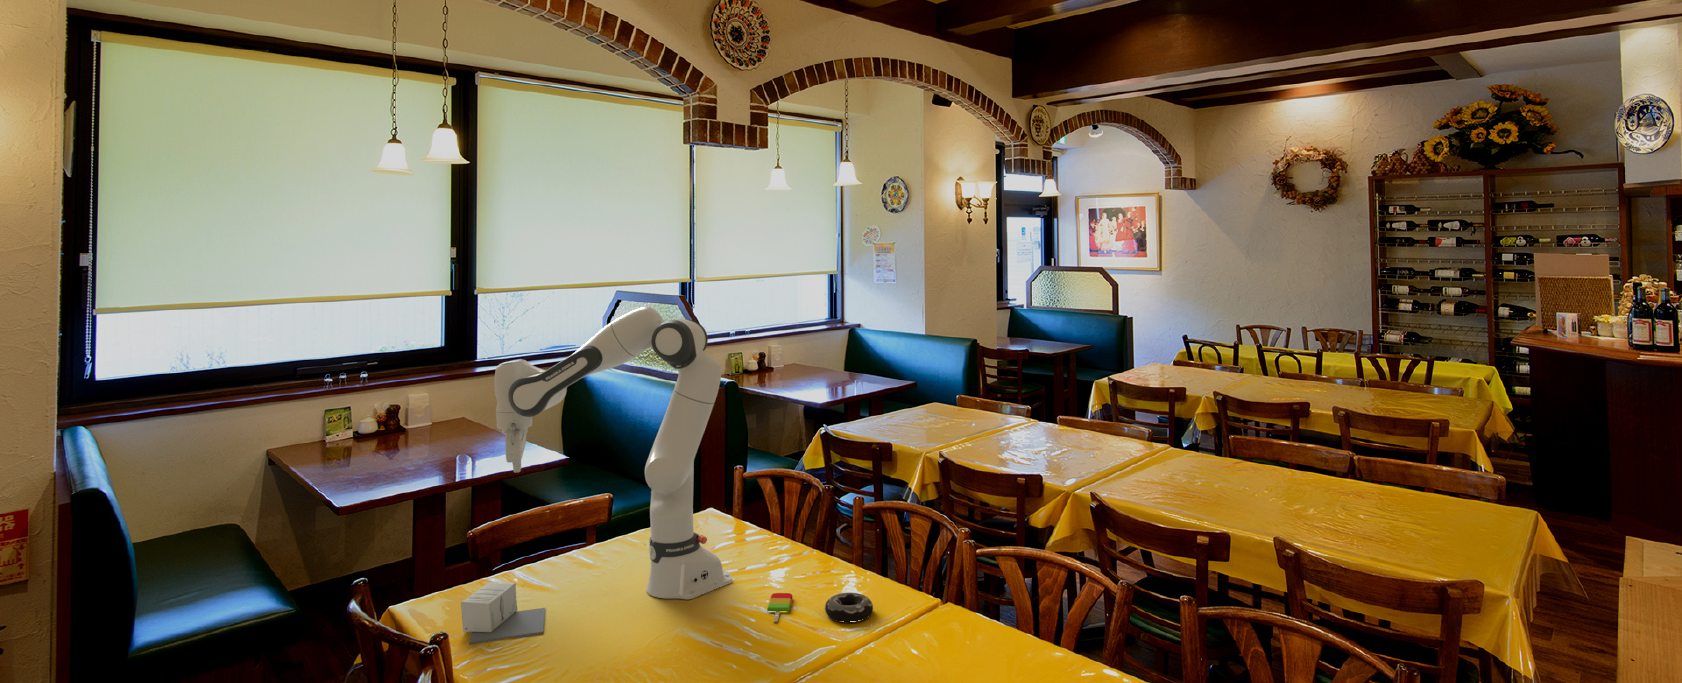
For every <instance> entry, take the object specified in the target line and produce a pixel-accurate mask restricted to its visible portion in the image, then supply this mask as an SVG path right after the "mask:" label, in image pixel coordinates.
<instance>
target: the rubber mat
mask: <svg viewBox="0 0 1682 683" xmlns="http://www.w3.org/2000/svg"><path fill="white" fill-rule="evenodd" d="M545 617H546V607H541V608H533V609H532V608H531V609H525V610H517V611H516V612H514V613H513V614H512V615H511V616H510V617H509V618H507V619H506V620H505V621H504V622H503V623H501V624H500V625H499V626H498V627H497V628H495V629H494V630H493V631H492V632H471V633H470V637H469V640H468V645H472V644H479V643H487V642H494V641H500V640H502V641H503V640H507V639H514V638H522V637H530V636H536V635H542V634H544V631H545V630H544V628H545Z"/></svg>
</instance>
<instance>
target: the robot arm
mask: <svg viewBox="0 0 1682 683" xmlns="http://www.w3.org/2000/svg"><path fill="white" fill-rule="evenodd" d="M708 339H709V338H708V333H707V331H706V328H705V327H704V326H702V325H701V323H699V322H698V321H696V320H692V319H686V318H677V319H676V318H675V319H669V320H665V319H664V318H663V317H662V316H661V314H660V313H659V312H658V311H657V310H656V309H654V308H653V307H651V306H648V305H647V306H645V305H644V306H641V307H639V308H635V309H633V310H631V311H628V312H627V313H625V314H623V315H621V316H619V317H617V318H615V319H614V320H612V321H611V322H609V323H607V325H605V326H604V327H603V328H601V329H600V330H599V331H598V332H596V333H595V334H594V335H593V336H592V337H591V338H589V339H588V340H587V341H586V342H585V343H584V344H582V345H581V346H580V347H578V349H577V350H576V351H575V352H573V353H572V354H570V355H568V357H567V356H566V358H565V359H563V360H561V361H559V362H557V363H556V364H555V365H552V366H551V367H550V368H548V369H546V370H545V369H543V368H540V367H537V366H535V365H533V364H531V363H530V362H528V361H527V360H526V359H523V358H519V359H513V360H509V361H505V362H501V363H499V364H498V365H497V366H496V367H495V371H494V372H495V373H494V396H495V399H496V407H495V417H496V429H498V430H501V431H502V435H504V436H505V438H504V442H505V460H506V463H508V464H509V463H512V469H513V473H520V472H521V471H522V470H521V469H522V460H523V459H522V458H523V456H524V451H525V447H526V445H527V433H528V432H529V430H528V428H530V427H532V426H533V417H535V416H537V415H539V414H541V413H542V412H545V411H546V410H548V409H550V408H552V407H555V406H556V405H559V404H560V403H561V402H562V401H563V400H564V399H566V398H565V397H566V395H567V392H568V387H569V386H571V385H573V384H575V383H576V382H578V381H579V380H581V379H583V378H585V377H587V376H590V375H593V374H596V373H600V372H603V371H607V370H610V369H613V368H616V367H618V366H621V365H623V364H626V363H628V362H629V361H631V360H633V359H635V358H636V357H638V356H640V355H641V354H643V353H644V352H646V351H647V350H649V349H652V350H653V351H654V353H655V354H656V355H657V357H659V358H660V359H661V360H663V361H664V362H665V363H667V364H668V365H669V366H671V367H672V368H673V369H675V370H678V376H677V379H676V382H675V385H674V387H673V391H672V394H671V397H670V399H669V402H668V405H667V408H666V411H665V413H664V416H663V419H662V421H661V424H660V427H659V429H658V432H657V433H656V437H655V438H654V441H653V444H652V447H651V449H650V452H649V455H648V458H647V460H646V462H645V466H644V477H645V482H646V484H647V485H648V487H649V488H650V489H651V491H650V494H651V495H650V506H649V519H650V537H649V548H648V550H649V552H648V553H649V558H650V567H649V568H650V570H649V577H648V583H647V586H646V593H647V594H648V595H650V596H652V597H654V598H659V599H680V600H681V599H682V600H692V599H695V598H697V597H699V596H702V595H705V594H707V593H709V592H712V591H714V589H715V590H716V588H717V589H719V587H720V588H722V587H724V586H727V585H730V584H731V583H732V576H731V574H730V573H729V572H728V571H726V570H725V569H723V564H722V562H721V560H720V558H719V557H718V556H717V555H716V554H714V552H712V551H711V550H708V549H707V548H705V547H703V546H702V545H705V544H706V543H707V541H708V537H707V536H706V535H703V534H699V533H696V532H694V507H693V506H694V473H695V472H694V471H695V470H694V465H695V464H694V463H695V458H696V455H697V453H698V449H699V446H700V445H701V441H702V439H703V436H704V434H705V430H706V428H707V425H708V421H709V420H710V416H711V414H712V412H713V409H714V405H715V402H716V398H717V397H718V393H719V389H720V385H721V378H722V374H723V373H722V372H723V368H722V365H721V363H720V362H719V361H718V360H717V359H716V358H715V357H713V356H711V355H709V354H707V353H705V351H706V349H707V347H708V346H707V345H708V341H709V340H708ZM701 544H702V545H701ZM701 594H702V595H701Z"/></svg>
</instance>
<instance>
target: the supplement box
mask: <svg viewBox="0 0 1682 683" xmlns="http://www.w3.org/2000/svg"><path fill="white" fill-rule="evenodd" d="M517 604H518V602H517V583H516V582H502V581H501V582H500V581H498V582H497V581H494V582H493V581H489V582H488V583H486V584H484V585H483V586H482V587H480V588H479V589H478V590H476V591H475V592H473V593H472V594H470V595H469V596H468V597H467V598H465V599H464V600H462V601H461V602H460V608H461V621H462V622H461V623H462V631H463V633H466V632H468V633H470V632H471V633H472V632H492V631H493V630H494V629H495V628H497V627H498V626H499V625H500V624H501V623H503V622H504V621H505V620H506V619H507V618H509V617H510V616H511V615H512V614H513V613H514V612H516V611H518V605H517Z"/></svg>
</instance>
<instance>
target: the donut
mask: <svg viewBox="0 0 1682 683" xmlns="http://www.w3.org/2000/svg"><path fill="white" fill-rule="evenodd" d="M873 609H874V605H873V602H872V600H871V599H870V598H869V597H868V596H866V595H864V594H861V593H857V592H842V593H837V594H835V595H832V596H831V597H829V598H828V599H827V600H826V602H825V606H824V610H825V613H826V614H827V616H828V618H829V619H831V618H832V619H831V620H833V619H834V620H833V621H835V620H837V621H836V622H838V621H844V622H850V621H858V620H862V619H865V618H867V617H868V616H869V617H870V616H871V615H872V613H873V611H874V610H873ZM869 617H868V618H869ZM868 618H867V619H868ZM865 620H866V619H865Z"/></svg>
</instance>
